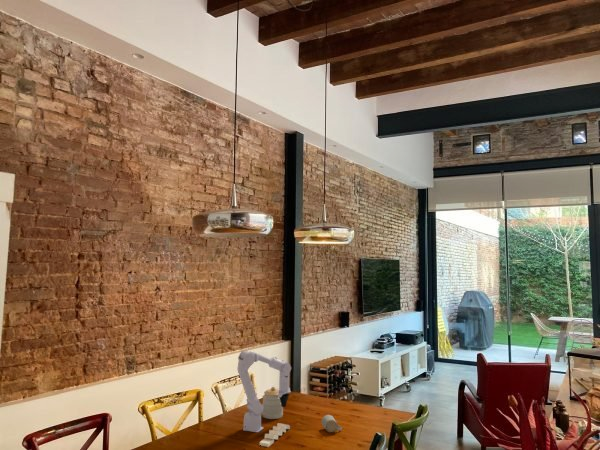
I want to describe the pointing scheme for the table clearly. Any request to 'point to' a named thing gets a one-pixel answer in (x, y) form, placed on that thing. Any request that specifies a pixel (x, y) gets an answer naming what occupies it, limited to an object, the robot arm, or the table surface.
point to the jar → (272, 404)
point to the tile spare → (266, 442)
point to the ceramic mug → (330, 424)
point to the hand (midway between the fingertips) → (283, 406)
